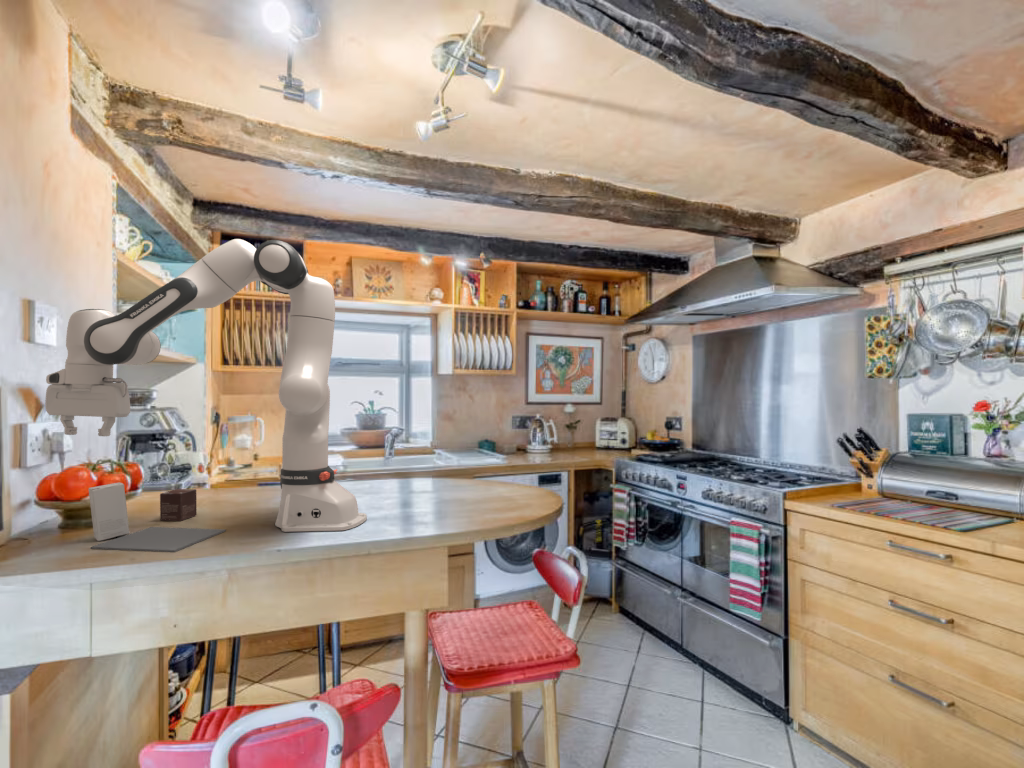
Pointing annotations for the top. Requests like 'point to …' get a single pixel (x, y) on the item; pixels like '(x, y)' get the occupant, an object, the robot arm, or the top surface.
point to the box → (178, 505)
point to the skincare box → (109, 511)
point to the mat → (159, 539)
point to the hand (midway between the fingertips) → (87, 435)
